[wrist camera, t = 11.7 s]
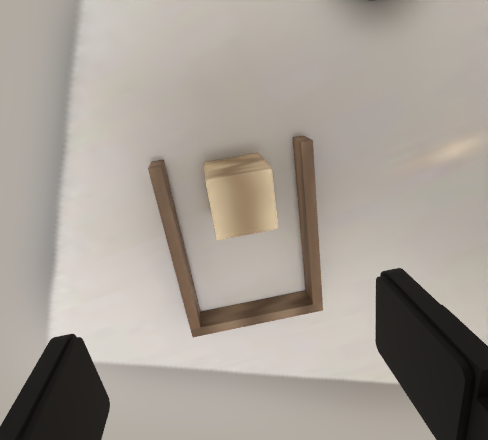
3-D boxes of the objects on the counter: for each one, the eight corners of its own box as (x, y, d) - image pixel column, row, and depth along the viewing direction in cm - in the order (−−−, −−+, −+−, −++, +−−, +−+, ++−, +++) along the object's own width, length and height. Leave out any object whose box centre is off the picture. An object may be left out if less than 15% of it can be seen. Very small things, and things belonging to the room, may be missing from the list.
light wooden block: (258, 152, 36) (272, 168, 30) (265, 204, 39) (278, 228, 32) (203, 162, 36) (204, 180, 29) (212, 213, 38) (216, 240, 32)
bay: (303, 135, 36) (312, 140, 33) (315, 296, 45) (322, 310, 42) (151, 161, 35) (148, 168, 32) (192, 321, 43) (192, 337, 41)
